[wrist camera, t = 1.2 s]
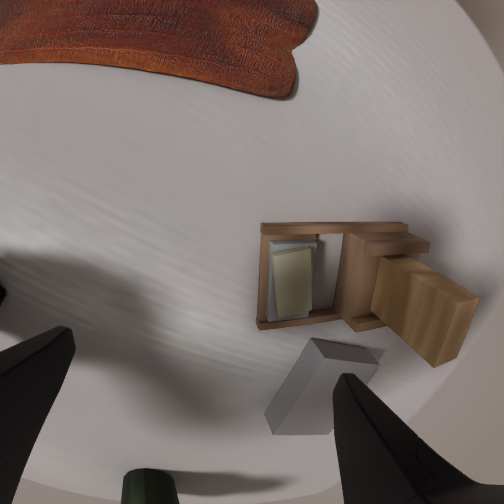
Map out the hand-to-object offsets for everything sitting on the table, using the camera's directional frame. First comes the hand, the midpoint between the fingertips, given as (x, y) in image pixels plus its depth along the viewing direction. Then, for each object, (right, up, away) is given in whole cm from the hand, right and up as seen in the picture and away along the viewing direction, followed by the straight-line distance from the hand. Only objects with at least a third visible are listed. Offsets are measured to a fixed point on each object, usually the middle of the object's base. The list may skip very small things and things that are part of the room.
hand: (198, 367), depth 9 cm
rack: (+9, +2, +16) cm, 18 cm away
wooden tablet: (-7, +20, +6) cm, 22 cm away
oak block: (+12, +1, +14) cm, 18 cm away
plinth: (+8, -10, +20) cm, 23 cm away
